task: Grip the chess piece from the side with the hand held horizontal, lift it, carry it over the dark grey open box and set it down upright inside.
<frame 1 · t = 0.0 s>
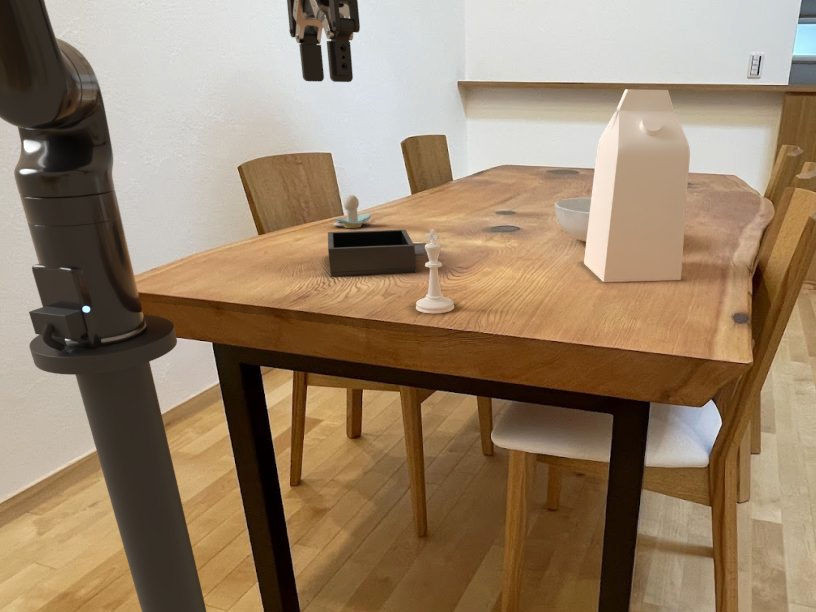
hand: (327, 81, 71), 26 cm above the table, tool pointing down, fingers open, 8 cm apart
pacifier: (351, 227, 133), on the table
chess piece: (435, 309, 85), on the table
dark grey open box: (371, 264, 105), on the table
milk: (630, 272, 103), on the table
serving bowl: (609, 243, 122), on the table
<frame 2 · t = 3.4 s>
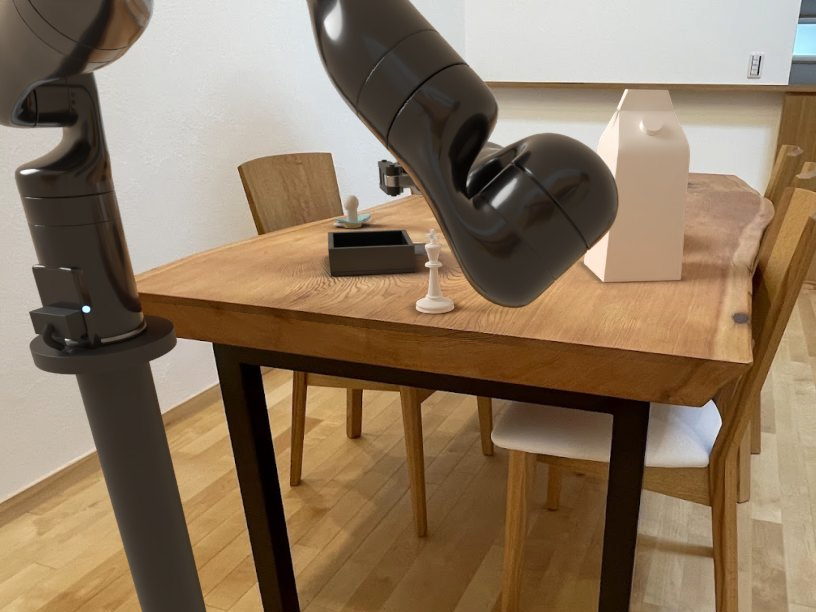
hand: (444, 168, 69), 18 cm above the table, tool horizontal, fingers open, 8 cm apart
nothing on the table moved.
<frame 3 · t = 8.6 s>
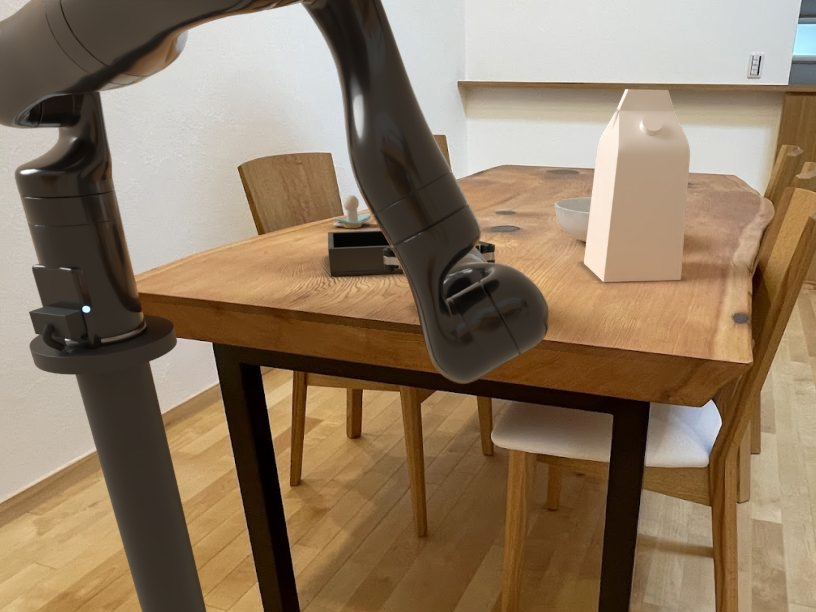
hand: (429, 240, 84), 8 cm above the table, tool horizontal, fingers closed on chess piece
chess piece: (435, 309, 85), on the table, touching gripper
everything else where it was.
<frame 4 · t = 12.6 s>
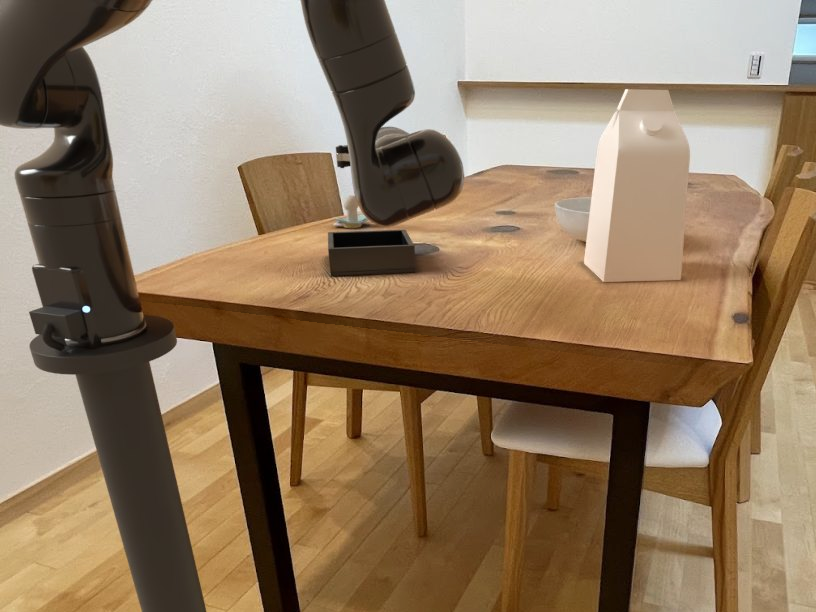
hand: (383, 150, 93), 18 cm above the table, tool horizontal, fingers closed on chess piece
chess piece: (388, 213, 93), point 9 cm above the table, touching gripper
everything else where it was.
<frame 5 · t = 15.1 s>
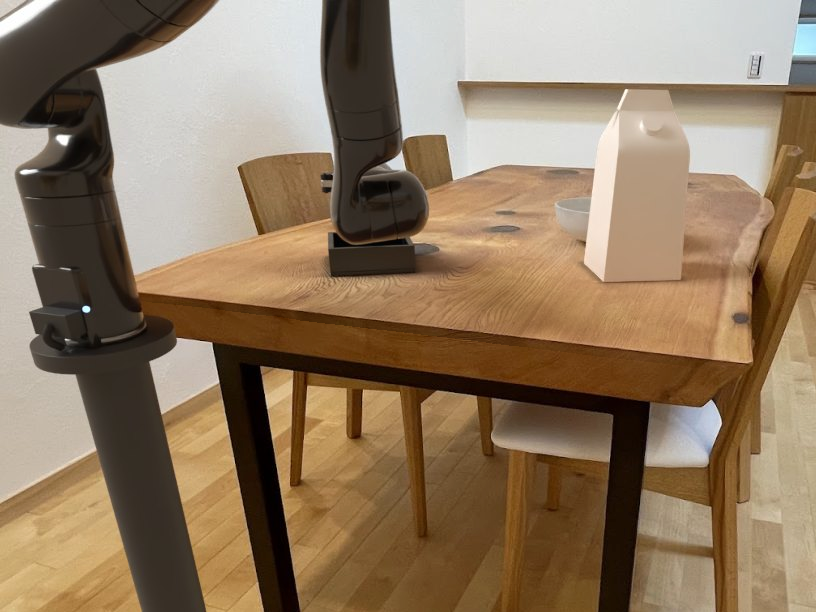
hand: (364, 175, 102), 13 cm above the table, tool horizontal, fingers closed on chess piece
chess piece: (370, 232, 103), point 5 cm above the table, touching gripper
everything else where it was.
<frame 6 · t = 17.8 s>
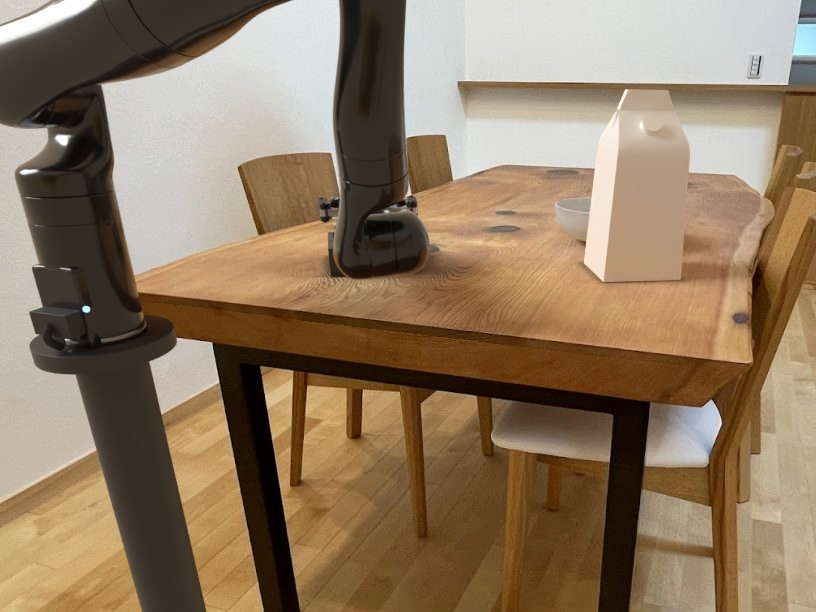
hand: (365, 200, 103), 10 cm above the table, tool horizontal, fingers open, 8 cm apart
chess piece: (372, 262, 105), resting on dark grey open box
everything else where it was.
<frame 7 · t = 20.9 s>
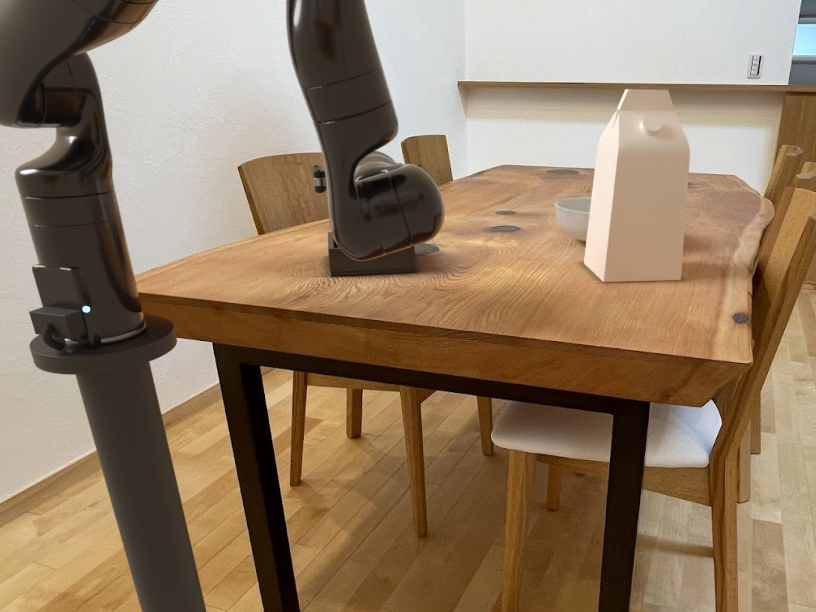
hand: (367, 171, 90), 15 cm above the table, tool horizontal, fingers open, 8 cm apart
nothing on the table moved.
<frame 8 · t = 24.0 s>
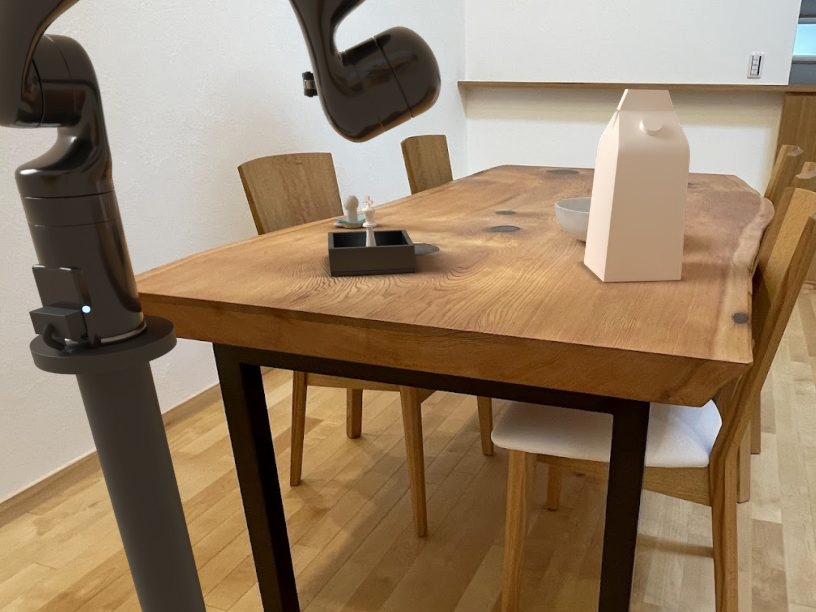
hand: (361, 85, 85), 26 cm above the table, tool horizontal, fingers open, 8 cm apart
nothing on the table moved.
at the end: chess piece inside the target area in the dark grey open box (0.2 cm from its centre), point 0.4 cm above the dark grey open box's base; chess piece tilted 0°; the gripper is holding nothing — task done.
